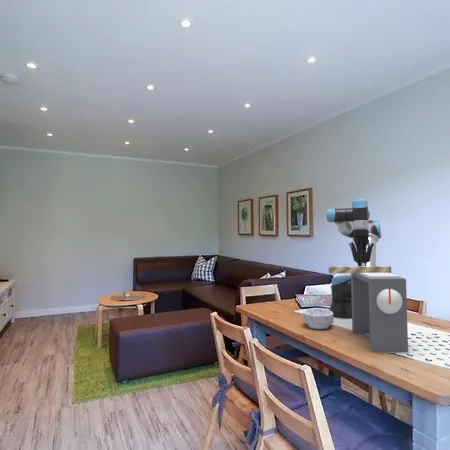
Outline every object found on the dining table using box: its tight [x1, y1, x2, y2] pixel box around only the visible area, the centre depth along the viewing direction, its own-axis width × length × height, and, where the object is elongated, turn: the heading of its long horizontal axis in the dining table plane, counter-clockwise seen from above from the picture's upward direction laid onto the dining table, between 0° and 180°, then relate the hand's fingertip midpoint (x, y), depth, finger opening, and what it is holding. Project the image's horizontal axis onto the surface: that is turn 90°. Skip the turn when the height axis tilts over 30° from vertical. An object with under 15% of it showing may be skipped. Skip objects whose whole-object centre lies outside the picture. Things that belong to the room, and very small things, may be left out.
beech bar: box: [328, 265, 392, 274], centre depth 160 cm, size 28×3×3 cm, turn 85°
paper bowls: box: [302, 308, 334, 330], centre depth 176 cm, size 15×15×8 cm
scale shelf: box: [350, 272, 409, 353], centre depth 151 cm, size 14×29×31 cm, turn 175°
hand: (362, 276), depth 168 cm, fingers closed
